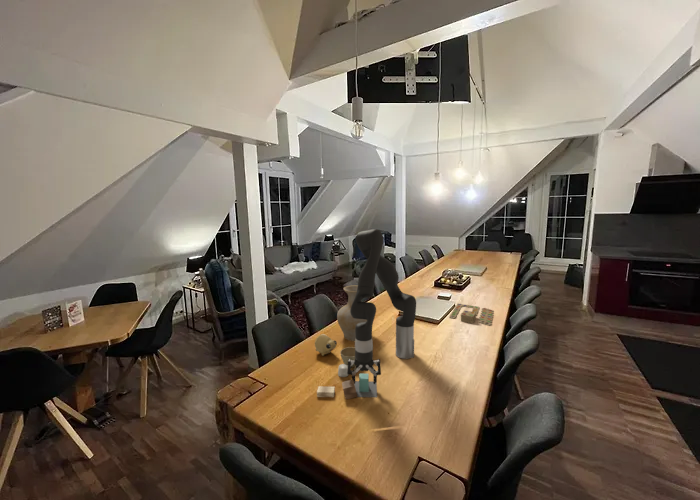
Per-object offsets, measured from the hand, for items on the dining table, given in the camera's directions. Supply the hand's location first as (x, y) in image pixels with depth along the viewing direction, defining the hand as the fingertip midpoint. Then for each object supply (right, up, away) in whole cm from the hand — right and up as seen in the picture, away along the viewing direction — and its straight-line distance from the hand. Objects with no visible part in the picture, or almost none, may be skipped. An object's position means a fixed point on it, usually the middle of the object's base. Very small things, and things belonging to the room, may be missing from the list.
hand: (364, 382), depth 128 cm
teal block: (0, -3, 0) cm, 3 cm away
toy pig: (-19, +1, +32) cm, 38 cm away
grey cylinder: (-9, -2, +12) cm, 15 cm away
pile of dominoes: (+81, +11, +85) cm, 118 cm away
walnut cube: (-6, -4, -3) cm, 8 cm away
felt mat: (0, -3, +1) cm, 3 cm away
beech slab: (-16, -4, -2) cm, 17 cm away
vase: (-3, +5, +53) cm, 53 cm away
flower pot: (-6, -1, +21) cm, 22 cm away
